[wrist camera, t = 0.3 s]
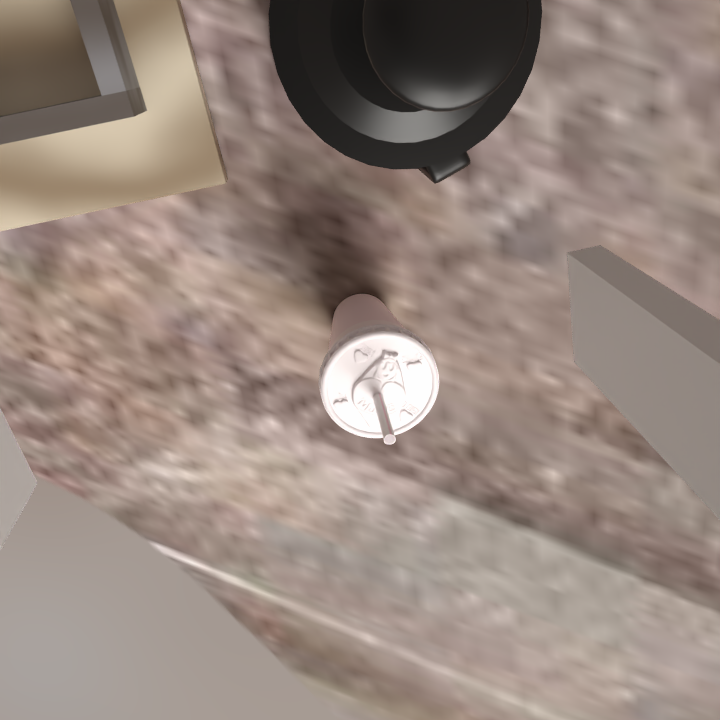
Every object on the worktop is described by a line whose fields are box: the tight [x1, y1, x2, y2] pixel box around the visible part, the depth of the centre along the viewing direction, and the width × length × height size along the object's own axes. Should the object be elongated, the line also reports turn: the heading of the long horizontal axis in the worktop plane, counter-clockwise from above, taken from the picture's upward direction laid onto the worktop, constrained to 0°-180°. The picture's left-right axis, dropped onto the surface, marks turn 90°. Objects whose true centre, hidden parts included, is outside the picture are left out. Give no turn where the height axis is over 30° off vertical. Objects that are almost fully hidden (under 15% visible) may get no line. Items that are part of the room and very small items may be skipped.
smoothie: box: [319, 294, 439, 444], centre depth 38 cm, size 6×6×14 cm
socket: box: [0, 0, 228, 231], centre depth 33 cm, size 19×16×5 cm
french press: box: [269, 0, 542, 183], centre depth 27 cm, size 12×9×23 cm
